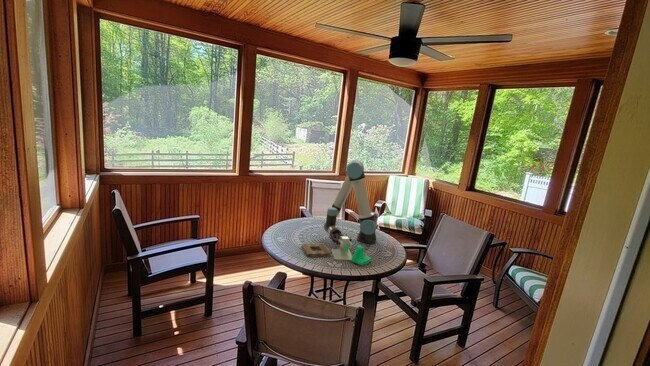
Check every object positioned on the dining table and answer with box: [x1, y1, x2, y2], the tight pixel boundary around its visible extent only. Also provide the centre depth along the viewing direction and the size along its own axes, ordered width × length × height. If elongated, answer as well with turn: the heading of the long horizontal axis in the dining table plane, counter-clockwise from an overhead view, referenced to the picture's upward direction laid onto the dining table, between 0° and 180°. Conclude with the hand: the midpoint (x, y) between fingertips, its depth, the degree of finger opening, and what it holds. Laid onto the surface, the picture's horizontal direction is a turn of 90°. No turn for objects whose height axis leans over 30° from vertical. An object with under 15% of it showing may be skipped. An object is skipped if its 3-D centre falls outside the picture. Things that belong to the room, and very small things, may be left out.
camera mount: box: [350, 245, 372, 266], centre depth 196 cm, size 12×8×10 cm, turn 137°
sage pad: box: [331, 248, 353, 261], centre depth 205 cm, size 13×16×1 cm
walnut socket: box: [301, 243, 332, 258], centre depth 205 cm, size 16×16×2 cm
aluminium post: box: [337, 235, 350, 256], centre depth 204 cm, size 5×5×12 cm
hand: (347, 245), depth 198 cm, fingers open, 6 cm apart
